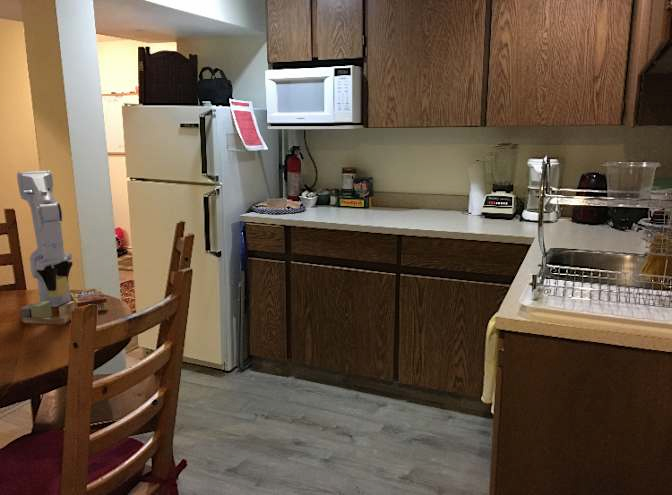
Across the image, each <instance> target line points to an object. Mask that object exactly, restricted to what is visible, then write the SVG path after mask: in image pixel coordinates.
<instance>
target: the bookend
mask: <svg viewBox="0 0 672 495" xmlns="http://www.w3.org/2000/svg"><path fill="white" fill-rule="evenodd" d="M34 304H35V303H29V304H27V305H24V306H22V307H20V308H19V310H20V312H19V313H20V318H21V322H23V318H24V317H32V315H31V307H30V306H31V305H34Z"/></svg>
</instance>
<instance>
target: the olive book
mask: <svg viewBox="0 0 672 495" xmlns="http://www.w3.org/2000/svg"><path fill="white" fill-rule="evenodd" d="M33 304H34V305H31V306H30V307H31V315H32V317H35V318H50V317H51V318H53V313H52V307H51V303H50V301H40V300H39V301H38V302H36V303H33Z"/></svg>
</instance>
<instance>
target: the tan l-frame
mask: <svg viewBox="0 0 672 495" xmlns="http://www.w3.org/2000/svg"><path fill="white" fill-rule="evenodd" d="M74 308H75V301H71V300H70V301H68V302H66V303H64V304H62V305H60V306H58V312H59V313H58V314H59V318H58V317H51V318H35V317H24V318H23V321H22V322H23V323H24V324H43V325H45V324H46V325H64V324H66V323H68V322H69V320H70V318H71V312H72V310H73V309H74ZM67 321H68V322H67ZM70 321H71V320H70ZM65 322H66V323H65ZM63 323H64V324H63Z"/></svg>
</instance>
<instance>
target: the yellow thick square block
mask: <svg viewBox="0 0 672 495" xmlns="http://www.w3.org/2000/svg"><path fill="white" fill-rule="evenodd" d="M48 292H49V296H54V297H59V296H61V295H63V294H65V293H67V292H68V285H67V276H56V290H55V291H48Z"/></svg>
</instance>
